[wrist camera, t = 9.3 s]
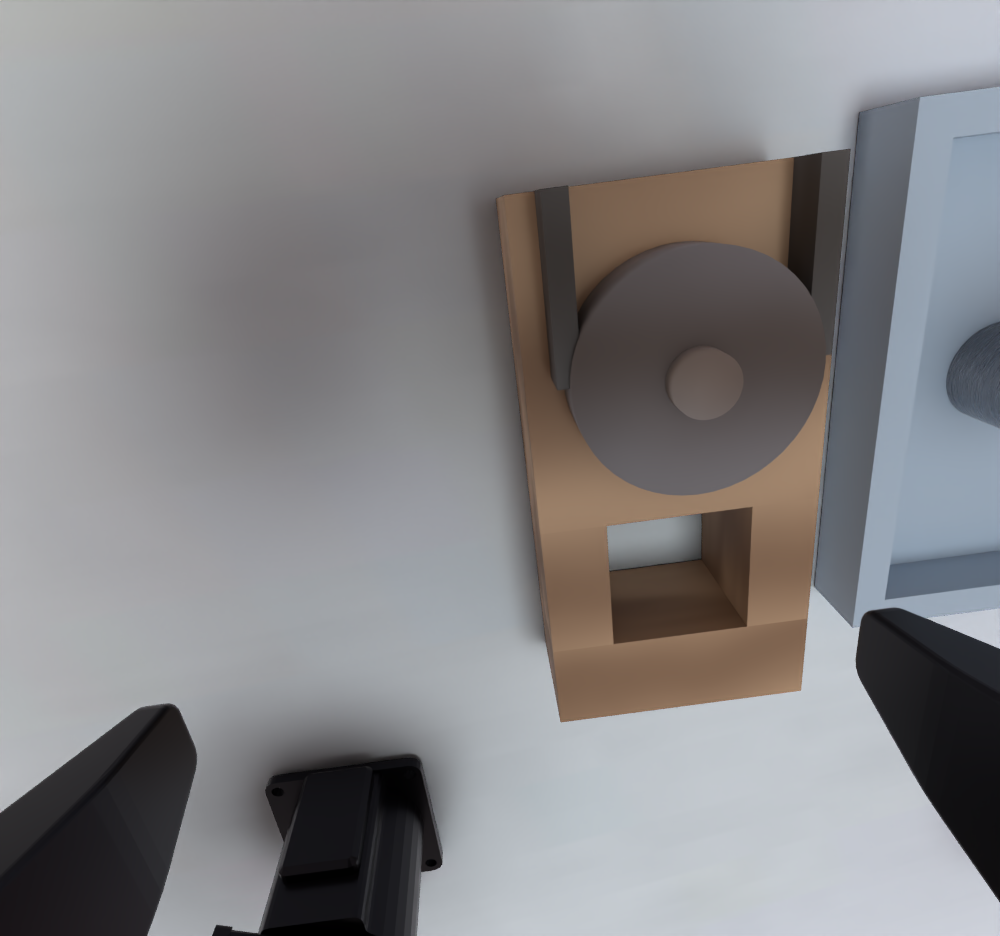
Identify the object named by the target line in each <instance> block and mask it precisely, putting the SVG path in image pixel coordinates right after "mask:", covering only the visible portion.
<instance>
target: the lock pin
mask: <svg viewBox="0 0 1000 936" xmlns="http://www.w3.org/2000/svg"><path fill="white" fill-rule="evenodd" d="M946 390H947V395H948V398H949V400H950V402H951V403H952V405H953V406H954V407H955V408H956V409H957V410H958V411H960V412H961V413H963V414H965V415H968V416H970V417H973V418H975V419H977V420H980V421H982V422H985V423H987V424H990V425H992V426H994V427H997V428H999V429H1000V322H997V323H994V324H991V325H989V326H987V327H985V328H983V329H981V330H979V331H978V332H977V333H975V334H974V335H973V336H971V337H970V338H969V339H968V340H967V341H966V342H965V343H964V344H963V345H962V346H961V348H960V349H959V350H958V352H957V353H956V355H955V356H954V358H953V360H952V362H951V364H950V367H949V370H948V373H947V379H946Z"/></svg>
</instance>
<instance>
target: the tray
mask: <svg viewBox="0 0 1000 936" xmlns="http://www.w3.org/2000/svg"><path fill="white" fill-rule="evenodd" d="M997 322H1000V87H994V88H986V89H978V90H971V91H963V92H955V93H948V94H940V95H932V96H925V97H919V98H915V99H911V100H907V101H903V102H899V103H895V104H891V105H887V106H883V107H879V108H875V109H872V110H868V111H864V112H860V113H859V124H858V134H857V145H856V155H855V166H854V177H853V187H852V198H851V208H850V219H849V229H848V240H847V250H846V261H845V271H844V282H843V293H842V303H841V314H840V324H839V335H838V345H837V356H836V366H835V377H834V388H833V398H832V409H831V419H830V430H829V440H828V451H827V461H826V472H825V483H824V493H823V504H822V514H821V525H820V535H819V546H818V556H817V567H816V577H815V588H816V589H817V590H818V591H819V592H820V593H821V594H822V595H823V597H824V598H825V599H826V600H827V601H828V602H829V603H830V604H831V605H832V606H833V607H834V608H835V609H836V610H837V612H838V613H839V614H840V615H841V616H842V617H843V618H844V619H845V620H846V621H847V622H848V623H849V624H850V625H851V627H852V628H854V627H860V623H861V619H862V616H863V615H864V614H865V613H866V612H868V611H870V610H877V609H884V608H892V607H897V608H902V609H904V610H907V611H909V612H912V613H914V614H916V615H919V616H921V617H924V618H929V617H937V616H945V615H952V614H960V613H967V612H975V611H982V610H990V609H998V608H1000V429H999V428H997V427H994V426H992V425H990V424H987V423H985V422H982V421H980V420H977V419H975V418H973V417H970V416H968V415H965V414H963V413H961V412H960V411H958V410H957V409H956V408H955V407H954V406H953V405H952V403H951V402H950V400H949V398H948V395H947V390H946V379H947V373H948V370H949V367H950V364H951V362H952V360H953V358H954V356H955V355H956V353H957V352H958V350H959V349H960V348H961V346H962V345H963V344H964V343H965V342H966V341H967V340H968V339H969V338H970V337H971V336H973V335H974V334H975V333H977V332H978V331H979V330H981V329H983V328H985V327H987V326H989V325H991V324H994V323H997Z"/></svg>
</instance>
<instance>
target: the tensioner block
mask: <svg viewBox="0 0 1000 936" xmlns="http://www.w3.org/2000/svg"><path fill="white" fill-rule="evenodd" d="M849 160H850V149H845V150H837V151H830V152H822V153H816V154H810V155H805V156H799V157H792V158H785V159H777V160H769V161H762V162H754V163H746V164H739V165H731V166H724V167H716V168H708V169H701V170H693V171H685V172H678V173H670V174H662V175H655V176H647V177H639V178H632V179H624V180H616V181H609V182H601V183H593V184H586V185H578V186H570V187H568V186H562V187H554V188H546V189H540V190H537V191H532V192H524V193H517V194H509V195H503V196H501V197H499V198H497V199H496V204H497V213H498V222H499V231H500V240H501V249H502V258H503V266H504V275H505V284H506V293H507V302H508V311H509V320H510V329H511V338H512V346H513V355H514V364H515V373H516V382H517V391H518V400H519V409H520V418H521V426H522V435H523V444H524V453H525V462H526V471H527V480H528V489H529V498H530V506H531V515H532V524H533V533H534V542H535V551H536V560H537V569H538V578H539V586H540V595H541V604H542V613H543V622H544V631H545V640H546V647H547V652H548V657H549V663H550V668H551V673H552V679H553V684H554V689H555V695H556V700H557V705H558V711H559V716H560V721H561V722H567V721H574V720H582V719H590V718H597V717H605V716H612V715H620V714H627V713H635V712H642V711H650V710H658V709H665V708H673V707H680V706H688V705H695V704H703V703H711V702H718V701H726V700H733V699H741V698H748V697H756V696H764V695H771V694H779V693H786V692H794V691H801V684H802V673H803V662H804V651H805V640H806V629H807V618H808V608H809V597H810V586H811V575H812V564H813V553H814V542H815V531H816V520H817V509H818V498H819V487H820V477H821V466H822V455H823V444H824V433H825V422H826V411H827V400H828V389H829V378H830V367H831V356H832V346H833V335H834V324H835V313H836V302H837V291H838V280H839V269H840V258H841V247H842V237H843V226H844V215H845V204H846V193H847V182H848V171H849ZM701 513H702V558H701V560H695V561H687V562H680V563H672V564H665V565H657V566H649V567H642V568H634V569H627V570H619V571H611V572H609V559H608V542H607V526H610V525H617V524H625V523H632V522H640V521H648V520H655V519H663V518H670V517H678V516H686V515H693V514H701Z"/></svg>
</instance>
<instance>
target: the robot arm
mask: <svg viewBox="0 0 1000 936" xmlns="http://www.w3.org/2000/svg"><path fill="white" fill-rule="evenodd" d="M856 669H857V673H858V676H859V678H860V680H861V682H862V684H863V686H864V688H865V690H866V691H867V693H868V695H869V697H870V698H871V700H872V702H873V704H874V706H875V707H876V709H877V711H878V713H879V714H880V716H881V718H882V720H883V722H884V723H885V725H886V727H887V729H888V730H889V732H890V734H891V736H892V738H893V739H894V741H895V743H896V745H897V746H898V748H899V750H900V752H901V754H902V755H903V757H904V759H905V761H906V762H907V764H908V766H909V768H910V770H911V771H912V773H913V775H914V776H915V778H916V780H917V781H918V783H919V785H920V786H921V788H922V790H923V791H924V793H925V794H926V796H927V797H928V799H929V800H930V802H931V803H932V805H933V806H934V808H935V809H936V811H937V812H938V814H939V815H940V817H941V818H942V820H943V821H944V823H945V824H946V825H947V827H948V828H949V830H950V831H951V833H952V834H953V835H954V837H955V838H956V840H957V841H958V843H959V844H960V846H961V847H962V848H963V850H964V851H965V853H966V854H967V856H968V857H969V859H970V860H971V861H972V863H973V864H974V866H975V867H976V869H977V870H978V872H979V873H980V874H981V876H982V877H983V879H984V880H985V882H986V883H987V884H988V886H989V887H990V889H991V890H992V892H993V893H994V895H995V896H996V897H997V899H998V900H999V902H1000V649H999V648H996V647H994V646H991V645H989V644H986V643H984V642H982V641H979V640H977V639H974V638H972V637H970V636H967V635H965V634H962V633H960V632H957V631H955V630H953V629H950V628H948V627H945V626H943V625H941V624H938V623H936V622H933V621H931V620H928V619H926V618H924V617H921V616H919V615H916V614H914V613H912V612H909V611H907V610H904V609H902V608H897V607H892V608H884V609H877V610H870V611H868V612H866V613H865V614H864V615H863V616H862V619H861V623H860V631H859V638H858V646H857V653H856ZM196 764H197V753H196V749H195V746H194V743H193V741H192V738H191V736H190V734H189V731H188V729H187V727H186V724H185V722H184V720H183V717H182V715H181V713H180V711H179V709H178V708H177V707H176V706H175V705H173V704H160V705H152V706H145V707H142V708H139V709H137V710H136V711H134V712H133V713H132V714H130V715H129V716H128V717H126V718H125V719H124V720H122V721H121V722H120V723H119V724H117V725H116V726H115V727H113V728H112V729H111V730H109V731H108V732H107V733H105V734H104V735H103V736H101V737H100V738H99V739H97V740H96V741H95V742H93V743H92V744H91V745H89V746H88V747H87V748H85V749H84V750H83V751H82V752H80V753H79V754H78V755H76V756H75V757H74V758H72V759H71V760H70V761H68V762H67V763H66V764H64V765H63V766H62V767H60V768H59V769H58V770H56V771H55V772H54V773H52V774H51V775H50V776H48V777H47V778H46V779H44V780H43V781H42V782H41V783H39V784H38V785H37V786H35V787H34V788H33V789H31V790H30V791H29V792H27V793H26V794H25V795H23V796H22V797H21V798H19V799H18V800H17V801H15V802H14V803H13V804H11V805H10V806H9V807H7V808H6V809H5V810H4V811H2V812H1V813H0V936H147V934H148V932H149V929H150V926H151V924H152V921H153V918H154V915H155V912H156V910H157V907H158V904H159V901H160V898H161V895H162V892H163V889H164V885H165V882H166V879H167V875H168V872H169V868H170V864H171V861H172V857H173V853H174V849H175V846H176V842H177V838H178V834H179V831H180V827H181V823H182V819H183V816H184V812H185V808H186V804H187V801H188V797H189V793H190V789H191V785H192V782H193V778H194V774H195V770H196ZM407 770H412V771H407ZM265 791H266V796H267V798H268V801H269V804H270V806H271V809H272V811H273V814H274V817H275V819H276V822H277V825H278V827H279V830H280V833H281V835H282V838H283V841H284V845H283V848H282V852H281V855H280V859H279V862H278V866H277V869H276V873H275V876H274V880H273V883H272V887H271V890H270V894H269V897H268V901H267V904H266V907H265V911H264V914H263V918H262V921H261V925H260V928H259V932H258V933H250V932H243V931H235V930H232V927H230V926H222V925H216V927H215V930H214V932H213V935H212V936H417V925H418V910H419V896H420V881H421V872H424V871H431V870H436V869H438V868H440V867H441V865H442V854H443V853H442V848H441V844H440V840H439V836H438V831H437V827H436V823H435V818H434V814H433V810H432V805H431V801H430V797H429V792H428V788H427V784H426V780H425V775H424V771H423V767H422V764H421V762H420V761H419V760H417V759H415V758H404V759H396V760H389V761H381V762H374V763H366V764H359V765H351V766H343V767H336V768H328V769H321V770H313V771H306V772H298V773H290V774H283V775H276V776H273V777H272V778H270V780H269V782H268V784H267V787H266V790H265Z"/></svg>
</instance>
